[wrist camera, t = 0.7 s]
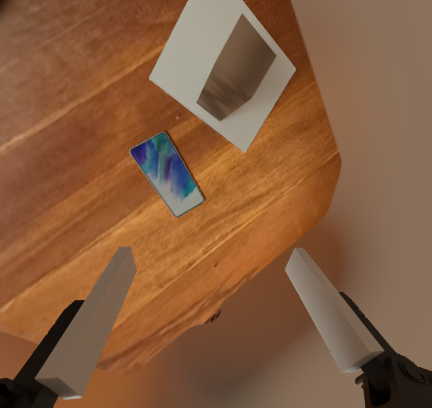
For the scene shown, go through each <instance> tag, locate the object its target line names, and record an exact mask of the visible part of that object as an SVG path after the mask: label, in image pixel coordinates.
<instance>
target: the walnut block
mask: <svg viewBox="0 0 432 408" xmlns="http://www.w3.org/2000/svg"><path fill="white" fill-rule="evenodd" d="M276 56H277V55H276V54H275V53H274V52H273V50H272V49H271V48H270V47H269V45H268V44H267V43H266V42H265V41H264V39H263V38H262V37H261V36H260V34H259V33H258V32H257V31H256V29H255V28H254V27H253V26H252V25H251V23H250V22H249V21H248V20H247V18H246V17H245V16H244V15H243V13H242V14H241V16H240V18H239V20H238V22H237V23H236V25H235V27H234V29H233V31H232V32H231V34H230V36H229V38H228V40H227V42H226V43H225V45H224V47H223V49H222V51H221V53H220V54H219V56H218V58H217V60H216V62H215V64H214V66H213V68H212V70H211V72H210V74H209V76H208V79H207V81H206V83H205V85H204V87H203V89H202V91H201V94H200V96H199V98H198V100H197V102H196V103H197V104H198V105H200V106H201V107H202V108H203V109H205V110H206V111H207V112H208V113H209V114H211V115H212V116H213V117H214V118H216V119H217V120H218V121H219V122H220V121H221V120H223V119H224V118H226V117H227V116H228V115H230V114H231V113H232V112H234V111H235V110H237V109H238V108H239V107H241V106H242V105H243V104H245V103H246V102H248V101H249V100H250V99H252V97H253V95H254V94H255V92H256V90H257V89H258V87H259V85H260V83H261V82H262V80H263V78H264V77H265V75H266V73H267V72H268V70H269V68H270V66H271V65H272V63H273V61H274V60H275V58H276Z"/></svg>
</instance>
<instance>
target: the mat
mask: <svg viewBox="0 0 432 408" xmlns="http://www.w3.org/2000/svg"><path fill="white" fill-rule="evenodd" d="M242 13H243V15H244V16H245V17H246V18H247V20H248V21H249V22H250V23H251V25H252V26H253V27H254V28H255V29H256V31H257V32H258V33H259V34H260V36H261V37H262V38H263V39H264V41H265V42H266V43H267V44H268V45H269V47H270V48H271V49H272V50H273V52H274V53H275V54H276V55H277V56H276V58H275V60H274V61H273V63H272V65H271V66H270V68H269V70H268V72H267V73H266V75H265V77H264V78H263V80H262V82H261V83H260V85H259V87H258V89H257V90H256V92H255V94H254V95H253V97H252V99H250V100H249V101H248V102H246V103H245V104H243V105H242V106H241V107H239V108H238V109H237V110H235V111H234V112H232V113H231V114H230V115H228V116H227V117H226V118H224V119H223V120H221V121H220V122H219V121H218V120H217V119H216V118H214V117H213V116H212V115H211V114H209V113H208V112H207V111H206V110H205V109H203V108H202V107H201V106H200V105H198V104H197V103H196V102H197V100H198V98H199V96H200V94H201V91H202V89H203V87H204V85H205V83H206V81H207V79H208V76H209V74H210V72H211V70H212V68H213V66H214V64H215V62H216V60H217V58H218V56H219V54H220V53H221V51H222V49H223V47H224V45H225V43H226V42H227V40H228V38H229V36H230V34H231V32H232V31H233V29H234V27H235V25H236V23H237V22H238V20H239V18H240V16H241V14H242ZM295 70H296V68H295V67H294V65H293V64H292V63H291V62H290V60H289V59H288V58H287V56H286V55H285V54H284V53H283V51H282V50H281V49H280V48H279V46H278V45H277V44H276V42H275V41H274V40H273V39H272V37H271V36H270V35H269V34H268V32H267V31H266V30H265V28H264V27H263V26H262V25H261V23H260V22H259V21H258V20H257V18H256V17H255V16H254V14H253V13H252V12H251V11H250V9H249V8H248V7H247V5H246V4H245V3H244V2H243V0H188V2H187V4H186V6H185V8H184V10H183V12H182V14H181V16H180V18H179V20H178V22H177V24H176V26H175V28H174V30H173V32H172V34H171V36H170V37H169V39H168V41H167V43H166V45H165V47H164V49H163V51H162V53H161V55H160V57H159V59H158V61H157V63H156V65H155V67H154V69H153V71H152V73H151V75H150V77H149V79H150V80H151V81H152V82H154V83H155V84H156V85H158V86H159V87H160V88H161V89H163V90H164V91H165V92H167V93H168V94H169V95H170V96H172V97H173V98H174V99H176V100H177V101H178V102H179V103H181V104H182V105H183V106H185V107H186V108H187V109H189V110H190V111H191V112H192V113H194V114H195V115H196V116H198V117H199V118H200V119H201V120H203V121H204V122H205V123H207V124H208V125H209V126H210V127H212V128H213V129H214V130H216V131H217V132H218V133H219V134H221V135H222V136H223V137H225V138H226V139H227V140H228V141H230V142H231V143H232V144H234V145H235V146H236V147H237V148H239V149H240V150H241V151H243V152H244V153H246V151H247V149H248V148H249V146H250V144H251V143H252V141H253V139H254V138H255V136H256V134H257V133H258V131H259V130H260V128H261V126H262V125H263V123H264V121H265V120H266V118H267V116H268V115H269V113H270V111H271V110H272V108H273V107H274V105H275V103H276V102H277V100H278V98H279V97H280V95H281V93H282V92H283V90H284V88H285V87H286V85H287V84H288V82H289V80H290V79H291V77H292V75H293V74H294V72H295Z"/></svg>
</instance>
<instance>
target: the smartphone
mask: <svg viewBox="0 0 432 408" xmlns="http://www.w3.org/2000/svg"><path fill="white" fill-rule="evenodd" d="M130 155H131V156H132V157H133V159H134V160H135V162H136V163H137V164H138V166H139V167H140V169H141V170H142V172H143V173H144V174H145V176H146V177H147V179H148V180H149V181H150V183H151V184H152V186H153V187H154V188H155V190H156V191H157V193H158V194H159V195H160V197H161V198H162V200H163V201H164V203H165V204H166V205H167V207H168V208H169V210H170V211H171V212H172V214H173V215H174V216H175V217H177V218H178V217H180V216H182V215H184V214H185V213H187V212H189V211H190V210H192V209H194V208H195V207H197V206H199V205H201V204H202V203H204V201H205V199H204V197H203V195H202V193H201V191H200V190H199V188H198V186H197V185H196V183H195V181H194V179H193V178H192V176H191V174H190V172H189V171H188V169H187V167H186V166H185V163H184V162H183V160H182V159H181V157H180V155H179V153H178V151H177V149H176V148H175V146H174V145H173V143H172V141H171V140H170V138H169V136H168V135H167V133H165V132H160V133H158V134H157V135H155V136H153V137H151V138H149V139H147V140H145V141H144V142H142V143H140V144H138V145H136V146H134V147H132V148H131V149H130Z"/></svg>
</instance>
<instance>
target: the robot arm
mask: <svg viewBox="0 0 432 408" xmlns="http://www.w3.org/2000/svg"><path fill="white" fill-rule="evenodd" d="M285 271H286V272H287V274H288V276H289V278H290V280H291V282H292V283H293V285H294V287H295V289H296V290H297V292H298V294H299V296H300V298H301V300H302V302H303V303H304V305H305V307H306V309H307V310H308V312H309V314H310V316H311V318H312V319H313V321H314V323H315V325H316V327H317V329H318V330H319V332H320V334H321V336H322V338H323V339H324V341H325V343H326V345H327V346H328V348H329V350H330V352H331V354H332V355H333V357H334V359H335V361H336V363H337V365H338V366H339V368H340V370H341V372H342V373H346V372H355V371H356V370H358V369H359V368H361V369H362V371H363V372H364V373H363V374H361V375H360V376H358V377H357V378H356V379H355V383H356V384H357V385H358V384H359V383H361V382H363V385H362V386H361V388H363V389H364V398H365V408H432V371H429V370H426V369H423V368H420V367H418V366H416V365H415V364H414V363H413V362H411V361H410V360H409V359H408V358H406V357H404V356H402V355H400V354H397V353H396V352H395V351H394V350H393V349H392V348H391V346H390V345H389V344H388V343H387V342H386V340H385V339H384V338H383V337H382V336H381V334H380V333H379V332H378V331H377V330H376V329H375V327H374V326H373V325H372V324H371V323H370V321H369V320H368V319H367V318H365V315H364V314H363V313H362V312H361V311H360V310H359V308H358V307H357V306H356V304H355V303H354V302H353V301H352V300H351V299H350V298H349V297H348V296H347V295H345V294H344V293H343V292H338V291H337V290H336V289H335V288H334V286H333V285H332V284H331V283H330V281H329V280H328V279H327V277H326V276H325V275H324V274H323V273H322V271H321V270H320V269H319V267H318V266H317V265H316V263H315V262H314V261H313V260H312V258H311V257H310V256H309V255H308V253H307V252H306V251H305V250H304V248H294V251H293V253H292V255H291V258H290V260H289V262H288V264H287V266H286V269H285ZM136 272H137V271H136V267H135V263H134V258H133V254H132V250H131V247H119V249H118V250H117V252H116V254H115V255H114V257H113V258H112V260H111V261H110V263H109V264H108V266H107V267H106V269H105V271H104V272H103V274H102V275H101V277H100V278H99V280H98V281H97V283H96V284H95V286H94V288H93V289H92V291H91V292H90V294H89V295H88V297H87V298H86V300H75V301H74V302H73V303H72V304H70V305H69V306H68V307H67V308H66V309H65V310H64V311H63V312H62V314H61V315H60V316H59V318H58V319H57V321H56V322H55V324H54V325H53V326H52V327H51V329H50V330H49V332H48V334H47V335H46V336H45V337H44V338H43V340H42V341H41V343H40V344H39V345H38V347H37V348H36V350H35V351H34V352H33V354H32V355H31V356H30V358H29V359H28V361H27V362H26V364H25V365H24V366H23V368H22V369H21V370H20V372H19V373H18V374H17V376H16V377H15V378H14V380H11V379H8V378H3V379H0V408H53V406H54V404H55V402H56V400H57V398H58V396H59V397H61V398H62V399H73V398H82V397H83V395H84V392H85V390H86V387H87V385H88V383H89V381H90V378H91V376H92V373H93V371H94V369H95V367H96V365H97V362H98V360H99V358H100V355H101V353H102V351H103V348H104V346H105V344H106V341H107V339H108V337H109V334H110V332H111V330H112V327H113V325H114V323H115V320H116V318H117V316H118V313H119V311H120V309H121V306H122V304H123V302H124V300H125V297H126V295H127V293H128V290H129V288H130V286H131V283H132V281H133V279H134V276H135V274H136Z"/></svg>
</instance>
